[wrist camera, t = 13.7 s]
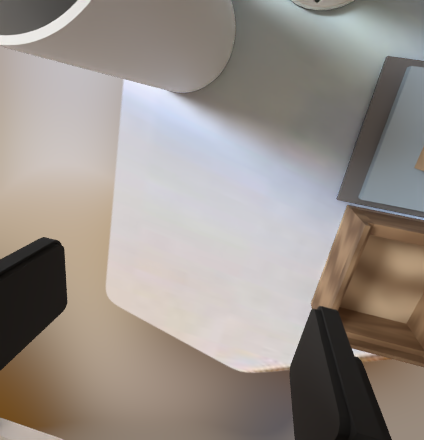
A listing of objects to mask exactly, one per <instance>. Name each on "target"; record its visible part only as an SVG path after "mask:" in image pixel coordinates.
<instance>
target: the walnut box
mask: <svg viewBox="0 0 424 440" xmlns="http://www.w3.org/2000/svg"><path fill="white" fill-rule="evenodd" d="M311 306H312V309H317V308H318V307H319V306H323V307H327V308H331V309H335V310H337V311H338V312H339V315H340V318H341V320H342V323H343V326H344V329H345V332H346V334H347V337H348V340H349V343H350V346H351V348H353V349H357V350H361V351H364V352H368V353H372V354H376V355H380V356H383V357H387V358H391V359H395V360H399V361H402V362H406V363H410V364H414V365H418V366H421V367H424V220H420V219H415V218H410V217H405V216H400V215H395V214H390V213H385V212H380V211H375V210H370V209H366V208H361V207H356V206H351V205H347V207H346V210H345V213H344V215H343V218H342V221H341V223H340V226H339V229H338V232H337V234H336V237H335V240H334V242H333V245H332V248H331V251H330V253H329V256H328V259H327V261H326V264H325V267H324V270H323V272H322V275H321V278H320V280H319V283H318V286H317V289H316V291H315V294H314V297H313V299H312V302H311Z"/></svg>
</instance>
